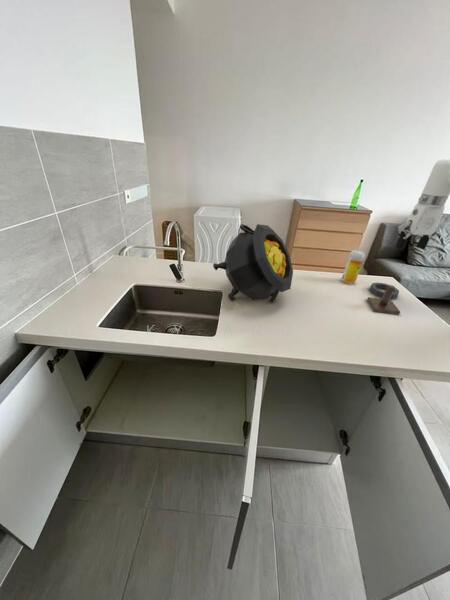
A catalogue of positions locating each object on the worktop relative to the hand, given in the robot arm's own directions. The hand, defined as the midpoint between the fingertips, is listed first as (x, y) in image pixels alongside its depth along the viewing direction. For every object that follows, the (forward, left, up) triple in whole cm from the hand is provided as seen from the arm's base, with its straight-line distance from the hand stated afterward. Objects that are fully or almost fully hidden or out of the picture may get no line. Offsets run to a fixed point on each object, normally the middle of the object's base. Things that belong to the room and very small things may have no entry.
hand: (409, 248), depth 93 cm
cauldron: (+58, +12, -23) cm, 63 cm away
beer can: (+13, -13, -23) cm, 29 cm away
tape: (0, -5, -23) cm, 23 cm away
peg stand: (+5, +8, -23) cm, 24 cm away
